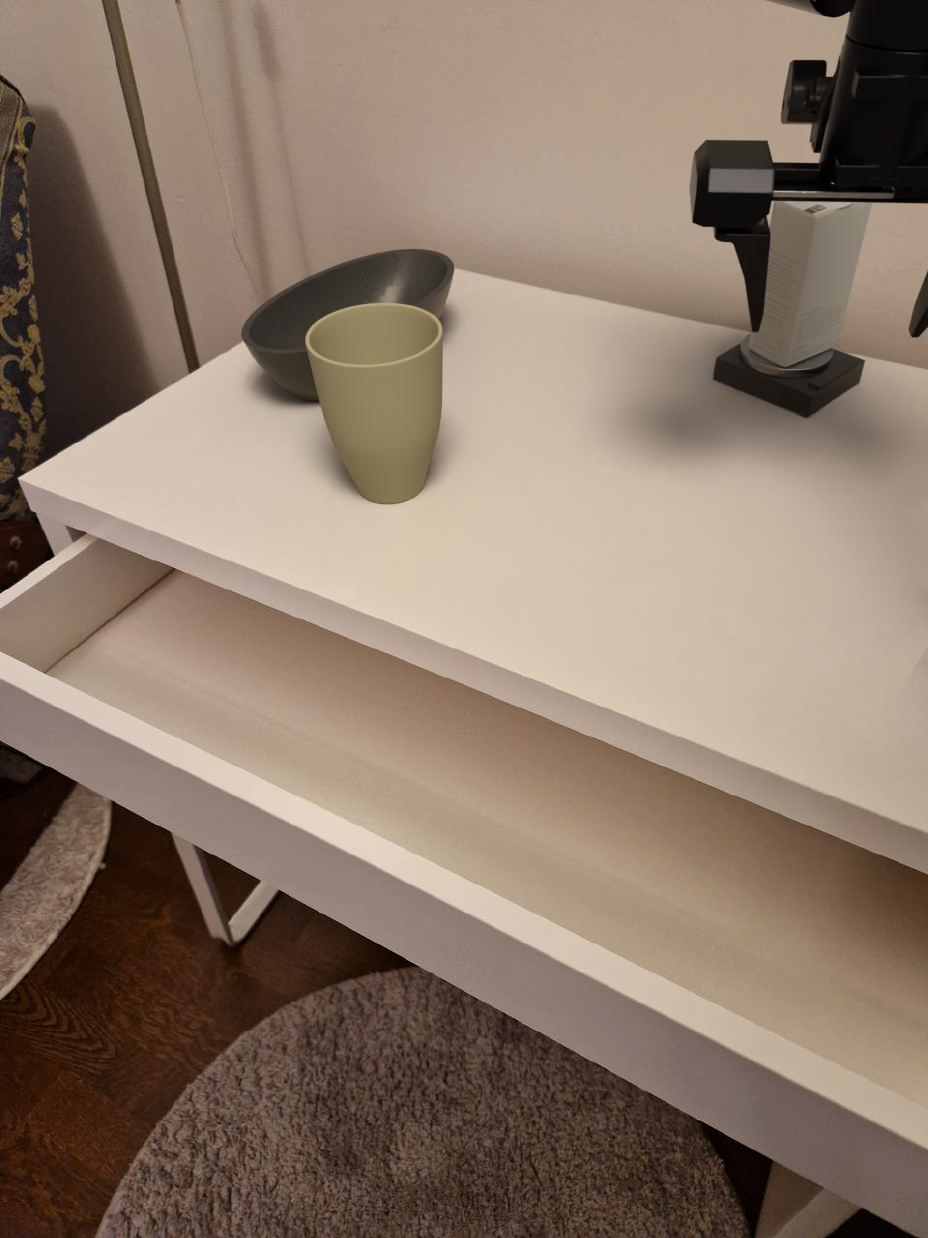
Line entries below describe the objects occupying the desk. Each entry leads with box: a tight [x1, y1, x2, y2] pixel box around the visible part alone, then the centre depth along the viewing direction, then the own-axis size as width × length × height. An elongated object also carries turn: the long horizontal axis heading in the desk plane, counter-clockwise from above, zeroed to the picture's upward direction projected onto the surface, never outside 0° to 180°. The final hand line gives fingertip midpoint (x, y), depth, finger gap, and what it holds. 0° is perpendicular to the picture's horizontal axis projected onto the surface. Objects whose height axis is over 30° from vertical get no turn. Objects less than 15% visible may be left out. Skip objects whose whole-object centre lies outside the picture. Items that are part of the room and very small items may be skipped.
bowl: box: [240, 248, 455, 402], centre depth 83 cm, size 12×22×6 cm, turn 142°
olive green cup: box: [305, 303, 444, 505], centre depth 68 cm, size 11×10×12 cm
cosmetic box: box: [749, 183, 873, 367], centre depth 74 cm, size 6×4×12 cm
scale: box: [712, 332, 866, 419], centre depth 79 cm, size 9×8×3 cm
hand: (832, 331), depth 58 cm, fingers open, 9 cm apart
